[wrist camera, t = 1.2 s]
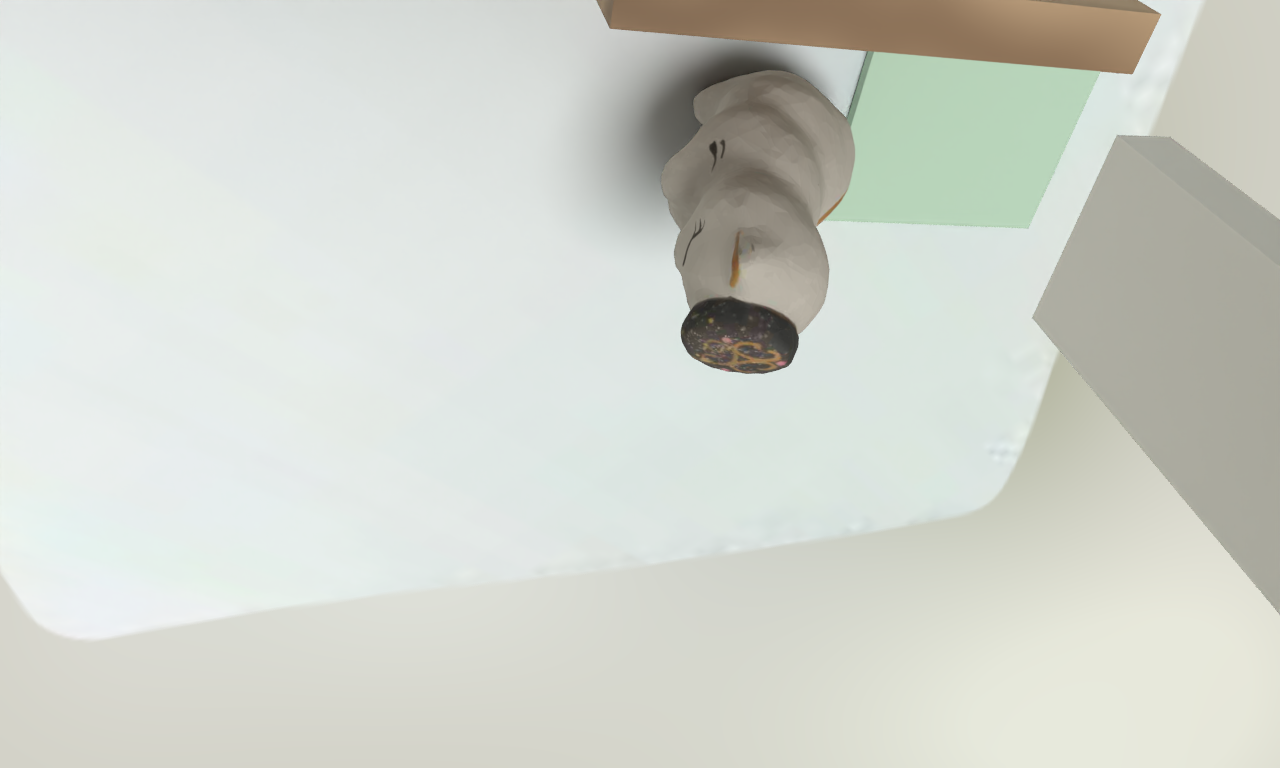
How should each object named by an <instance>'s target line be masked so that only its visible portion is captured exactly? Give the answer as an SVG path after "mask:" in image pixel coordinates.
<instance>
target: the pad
mask: <svg viewBox="0 0 1280 768" xmlns="http://www.w3.org/2000/svg"><path fill="white" fill-rule="evenodd" d="M1099 74H1100V71H1090V70H1078V69H1067V68H1055V67H1044V66H1032V65H1021V64H1010V63H998V62H987V61H975V60H964V59H952V58H941V57H929V56H918V55H907V54H895V53H884V52H872V51H868V52H867V55H866V58H865V62H864V65H863V68H862V72H861V75H860V78H859V81H858V85H857V88H856V91H855V95H854V98H853V101H852V104H851V108H850V111H849V114H848V117H847V121H848V123H849V125H850V127H851V131H852V135H853V140H854V145H855V163H854V167H853V172H852V177H851V181H850V184H849V188H848V190H847V192H846V194H845V196H844V197H843V199H842V201H841V202H840V203H839V205H838V206H837V207H836V208H835V209H834V210H833V212H832V213H831V214H830V215H829V216H828V217H827V218H826V219H825V220H827V221H852V222H878V223H903V224H929V225H954V226H980V227H1005V228H1029V225H1030V223H1031V221H1032V219H1033V217H1034V215H1035V212H1036V210H1037V208H1038V206H1039V204H1040V202H1041V199H1042V197H1043V195H1044V193H1045V191H1046V189H1047V186H1048V184H1049V182H1050V180H1051V178H1052V176H1053V173H1054V171H1055V169H1056V167H1057V165H1058V163H1059V160H1060V158H1061V156H1062V154H1063V152H1064V150H1065V147H1066V145H1067V143H1068V141H1069V139H1070V137H1071V134H1072V132H1073V130H1074V128H1075V126H1076V124H1077V121H1078V119H1079V117H1080V115H1081V113H1082V111H1083V108H1084V106H1085V104H1086V102H1087V100H1088V98H1089V95H1090V93H1091V91H1092V89H1093V87H1094V84H1095V82H1096V80H1097V78H1098V76H1099Z"/></svg>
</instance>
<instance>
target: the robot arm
mask: <svg viewBox="0 0 1280 768" xmlns="http://www.w3.org/2000/svg"><path fill="white" fill-rule="evenodd" d="M1032 318H1033V319H1034V321H1035V322H1036V323H1037V324H1038V325H1039V327H1040V328H1041V329H1042V330H1043V331H1044V333H1045V334H1046V335H1047V336H1048V337H1049V339H1050V340H1051V341H1052V342H1053V343H1054V345H1055V346H1056V347H1057V348H1058V349H1059V351H1060V352H1061V353H1062V354H1063V355H1064V357H1065V358H1066V359H1067V360H1068V361H1069V362H1070V364H1071V365H1072V366H1073V367H1074V369H1075V370H1076V371H1077V372H1078V373H1079V375H1080V376H1081V377H1082V378H1083V379H1084V380H1085V382H1086V383H1087V384H1088V385H1089V386H1090V388H1091V389H1092V390H1093V391H1094V392H1095V393H1096V395H1097V396H1098V397H1099V398H1100V400H1101V401H1102V402H1103V403H1104V404H1105V406H1106V407H1107V408H1108V409H1109V410H1110V412H1111V413H1112V414H1113V415H1114V416H1115V418H1116V419H1117V420H1118V421H1119V422H1120V424H1121V425H1122V426H1123V427H1124V428H1125V430H1126V431H1127V432H1128V433H1129V434H1130V436H1131V437H1132V438H1133V439H1134V440H1135V442H1136V443H1137V444H1138V445H1139V446H1140V447H1141V448H1142V450H1143V451H1144V452H1145V454H1146V455H1147V456H1148V457H1149V458H1150V460H1151V461H1152V462H1153V463H1154V464H1155V466H1156V467H1157V468H1158V469H1159V470H1160V472H1161V473H1162V474H1163V475H1164V476H1165V477H1166V479H1167V480H1168V481H1169V482H1170V484H1171V485H1172V486H1173V487H1174V488H1175V489H1176V491H1177V492H1178V493H1179V494H1180V496H1181V497H1182V498H1183V499H1184V500H1185V501H1186V503H1187V504H1188V505H1189V506H1190V507H1191V509H1192V510H1193V511H1194V512H1195V513H1196V515H1197V516H1198V517H1199V518H1200V519H1201V521H1202V522H1203V523H1204V524H1205V525H1206V527H1207V528H1208V529H1209V530H1210V531H1211V533H1212V534H1213V535H1214V536H1215V537H1216V538H1217V540H1218V541H1219V542H1220V543H1221V545H1222V546H1223V547H1224V548H1225V549H1226V551H1227V552H1228V553H1229V554H1230V555H1231V557H1232V558H1233V559H1234V560H1235V561H1236V562H1237V564H1238V565H1239V566H1240V567H1241V569H1242V570H1243V571H1244V572H1245V573H1246V574H1247V576H1248V577H1249V578H1250V579H1251V580H1252V582H1253V583H1254V584H1255V585H1256V587H1257V588H1258V589H1259V590H1260V591H1261V592H1262V594H1263V595H1264V596H1265V597H1266V599H1267V600H1268V601H1269V602H1270V603H1271V605H1272V606H1273V607H1274V608H1275V609H1276V611H1277V612H1278V613H1279V614H1280V220H1279V219H1278V218H1277V217H1275V216H1274V215H1273V214H1271V213H1270V212H1269V211H1267V210H1266V209H1265V208H1263V207H1262V206H1261V205H1259V204H1258V203H1257V202H1255V201H1254V200H1253V199H1251V198H1250V197H1249V196H1248V195H1246V194H1245V193H1244V192H1242V191H1241V190H1240V189H1238V188H1237V187H1236V186H1234V185H1233V184H1232V183H1230V182H1229V181H1228V180H1226V179H1225V178H1224V177H1222V176H1221V175H1220V174H1218V173H1217V172H1216V171H1215V170H1213V169H1212V168H1210V167H1209V166H1208V165H1207V164H1205V163H1204V162H1202V161H1201V160H1200V159H1198V158H1197V157H1196V156H1195V155H1193V154H1192V153H1190V152H1189V151H1188V150H1187V149H1185V148H1184V147H1183V146H1181V145H1180V144H1179V143H1177V142H1176V141H1175V140H1174V139H1172V138H1171V137H1157V136H1126V135H1117V136H1116V138H1115V141H1114V143H1113V145H1112V147H1111V149H1110V151H1109V153H1108V156H1107V158H1106V160H1105V162H1104V164H1103V166H1102V169H1101V171H1100V173H1099V175H1098V177H1097V179H1096V181H1095V184H1094V186H1093V188H1092V190H1091V192H1090V194H1089V197H1088V199H1087V201H1086V203H1085V205H1084V207H1083V209H1082V212H1081V214H1080V216H1079V218H1078V220H1077V222H1076V225H1075V227H1074V229H1073V231H1072V233H1071V235H1070V237H1069V240H1068V242H1067V244H1066V246H1065V248H1064V250H1063V252H1062V255H1061V257H1060V259H1059V261H1058V263H1057V265H1056V268H1055V270H1054V272H1053V274H1052V276H1051V278H1050V280H1049V283H1048V285H1047V287H1046V289H1045V291H1044V293H1043V296H1042V298H1041V300H1040V302H1039V304H1038V306H1037V308H1036V311H1035V313H1034V315H1033V317H1032Z"/></svg>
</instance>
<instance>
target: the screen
mask: <svg viewBox="0 0 1280 768" xmlns="http://www.w3.org/2000/svg"><path fill="white" fill-rule="evenodd" d="M597 2H598V5H599V7H600V9H601V11H602V13H603V15H604V17H605V19H606V21H607V23H608V26H609V28H610V29H621V30H632V31H643V32H655V33H666V34H678V35H689V36H701V37H712V38H724V39H735V40H746V41H758V42H769V43H781V44H792V45H804V46H815V47H826V48H838V49H849V50H861V51H872V52H884V53H895V54H907V55H918V56H929V57H941V58H952V59H964V60H975V61H987V62H998V63H1010V64H1021V65H1032V66H1044V67H1055V68H1067V69H1078V70H1090V71H1101V72H1112V73H1124V74H1133V72H1134V70H1135V68H1136V66H1137V64H1138V62H1139V60H1140V58H1141V55H1142V53H1143V51H1144V49H1145V47H1146V45H1147V43H1148V41H1149V39H1150V37H1151V35H1152V33H1153V31H1154V29H1155V26H1156V24H1157V22H1158V20H1159V18H1160V16H1161V14H1160V13H1158V12H1156V11H1155V10H1153V9H1151V8H1150V7H1148V6H1146V5H1145V4H1143V3H1141V2H1140V1H1138V0H597Z"/></svg>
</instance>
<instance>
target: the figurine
mask: <svg viewBox="0 0 1280 768" xmlns="http://www.w3.org/2000/svg"><path fill="white" fill-rule="evenodd" d="M693 107H694V113H695V117H696V119H697V120H698V121H699V122H700V123H701V124H702V126H701V128H700V129H699V130H698V132H697V133H696V135H695V136H694V137H693V138H692V139H691V140H690V141H689V143H688V144H687V145H686V146H685V147H684V148H682V149H681V150H680V151H679V152H677V153H676V154H675V155H674V156H672V157H671V158H670V160H669V161H668V162H667V163H666V165H665V167H664V169H663V172H662V175H661V186H662V190H663V194H664V196H665V197H666V198H667V199H668V204H669V210H670V213H671V215H672V217H673V218H674V220H675V222H676V224H677V225H678V227H679V228H680V229H681V232H680V233H679V235H678V238H677V242H676V246H675V250H674V258H675V264H676V267H677V269H678V270H679V272H680V274H681V276H682V280H683V286H684V289H685V292H686V297H687V303H688V305H689V308H690V310H691V311H690V312H689V314H688V315H687V317H686V319H685V320H684V322H683V324H682V328H681V339H682V342H683V344H684V346H685V348H686V350H687V352H688V353H689V354H690V355H691V356H692V357H693V358H694V359H696V360H698V361H700V362H702V363H704V364H706V365H708V366H710V367H712V368H717V369H721V370H724V371H729V372H740V373H746V374H751V373H761V374H764V373H768V372H772V371H776V370H779V369H782V368H785V367H787V366H789V365H790V363H791V362H792V360H793V358H794V355H795V353H796V351H797V348H798V340H799V337H798V334H799V333H801V332H802V331H803V330H804V329H805V328H806V327H807V326H808V325H809V324H810V322H811V321H812V320H813V319H814V318H815V316H816V315H817V314H818V312H819V311H820V309H821V308H822V306H823V304H824V301H825V297H826V293H827V288H828V279H829V264H828V259H827V255H826V251H825V248H824V245H823V242H822V239H821V237H820V234H819V232H818V230H817V228H816V226H818V225H819V224H820V223H821V222H822V221H824V220H825V219H826V218H827V217H828V216H829V215H830V214H831V213H832V212H833V210H834V209H835V208H836V207H837V206H838V205H839V203H840V202H841V201H842V199H843V197H844V196H845V194H846V192H847V190H848V188H849V184H850V181H851V177H852V172H853V167H854V163H855V145H854V140H853V135H852V131H851V127H850V125H849V123H848V121H847V118H846V117H845V116H844V115H843V114H842V113H841V112H840V111H839V110H838V109H837V108H836V107H835V106H834V105H833V104H832V103H831V102H830V101H829V100H828V99H827V98H826V97H825V96H824V95H822V94H821V93H820V92H819V90H818V89H816V88H815V87H814V86H813V85H811V84H810V83H809V82H808V81H807V80H805V79H803V78H801V77H800V76H798V75H795V74H792V73H790V72H786V71H777V70H767V71H760V72H755V73H750V74H746V75H742V76H737V77H734V78H731V79H728V80H726V81H723V82H720V83H716V84H714V85H712V86H710V87H708V88H706V89H704V90H702V91H701V92H700V93H699V94H698V95H697V96H696V97H695V98H694V102H693Z"/></svg>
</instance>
